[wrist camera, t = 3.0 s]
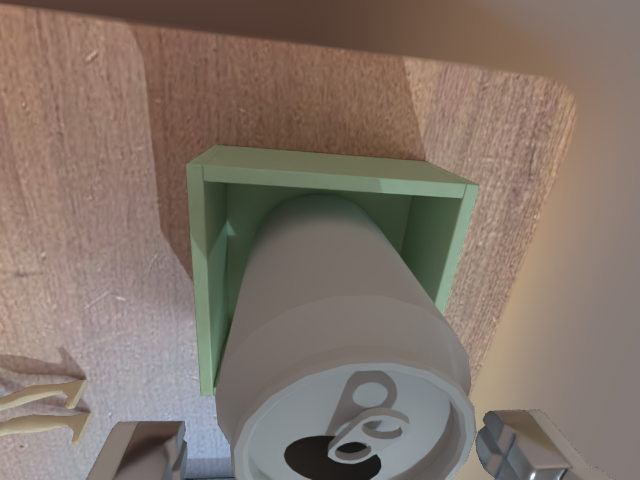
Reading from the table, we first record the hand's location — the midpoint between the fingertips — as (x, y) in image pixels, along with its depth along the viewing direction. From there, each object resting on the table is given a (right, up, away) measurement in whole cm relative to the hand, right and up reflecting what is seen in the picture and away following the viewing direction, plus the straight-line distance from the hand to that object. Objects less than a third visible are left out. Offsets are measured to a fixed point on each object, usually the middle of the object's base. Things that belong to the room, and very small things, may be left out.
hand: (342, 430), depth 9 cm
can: (-1, +4, +10) cm, 11 cm away
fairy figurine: (-22, -5, +12) cm, 25 cm away
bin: (-1, +4, +10) cm, 11 cm away
